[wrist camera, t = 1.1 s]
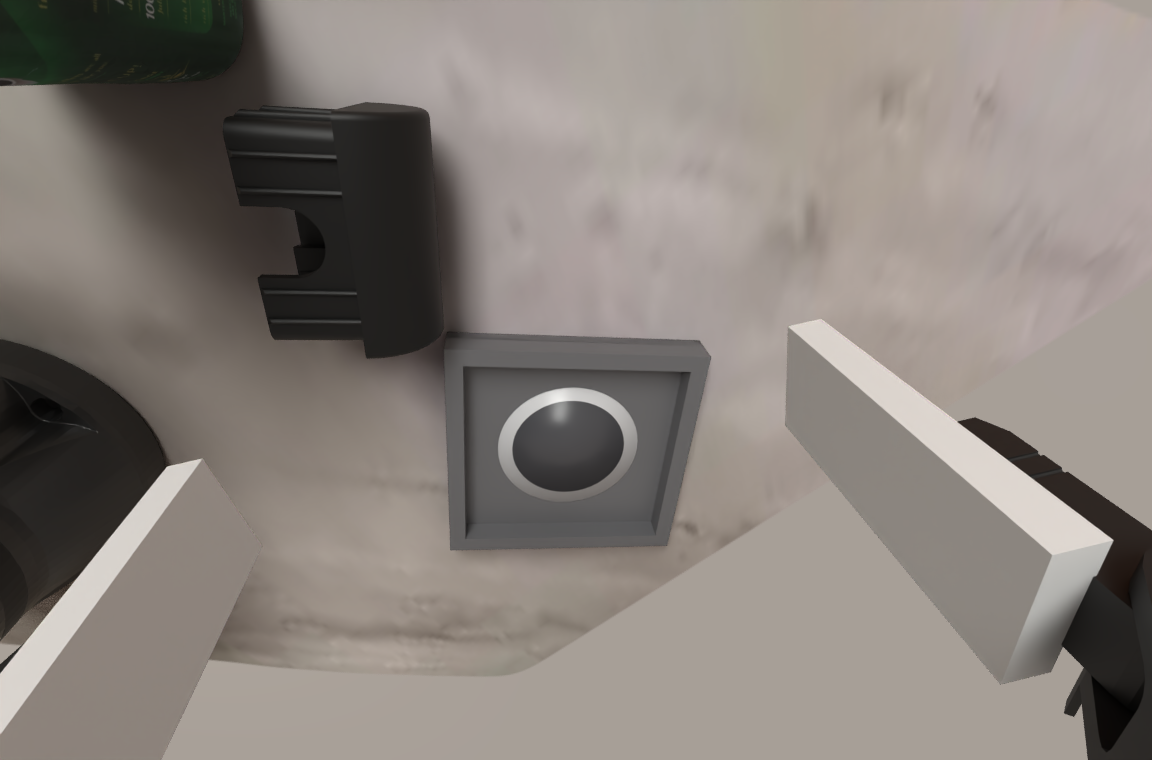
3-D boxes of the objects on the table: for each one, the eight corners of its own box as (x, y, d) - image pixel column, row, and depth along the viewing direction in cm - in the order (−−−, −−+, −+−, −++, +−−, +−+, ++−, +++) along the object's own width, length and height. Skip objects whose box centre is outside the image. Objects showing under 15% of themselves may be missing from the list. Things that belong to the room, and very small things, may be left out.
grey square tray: (453, 526, 38) (450, 550, 36) (447, 332, 31) (443, 349, 29) (659, 523, 40) (666, 545, 39) (699, 340, 33) (711, 357, 31)
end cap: (450, 305, 30) (437, 361, 25) (317, 303, 30) (270, 361, 24) (438, 104, 26) (418, 115, 20) (277, 96, 25) (207, 104, 19)
